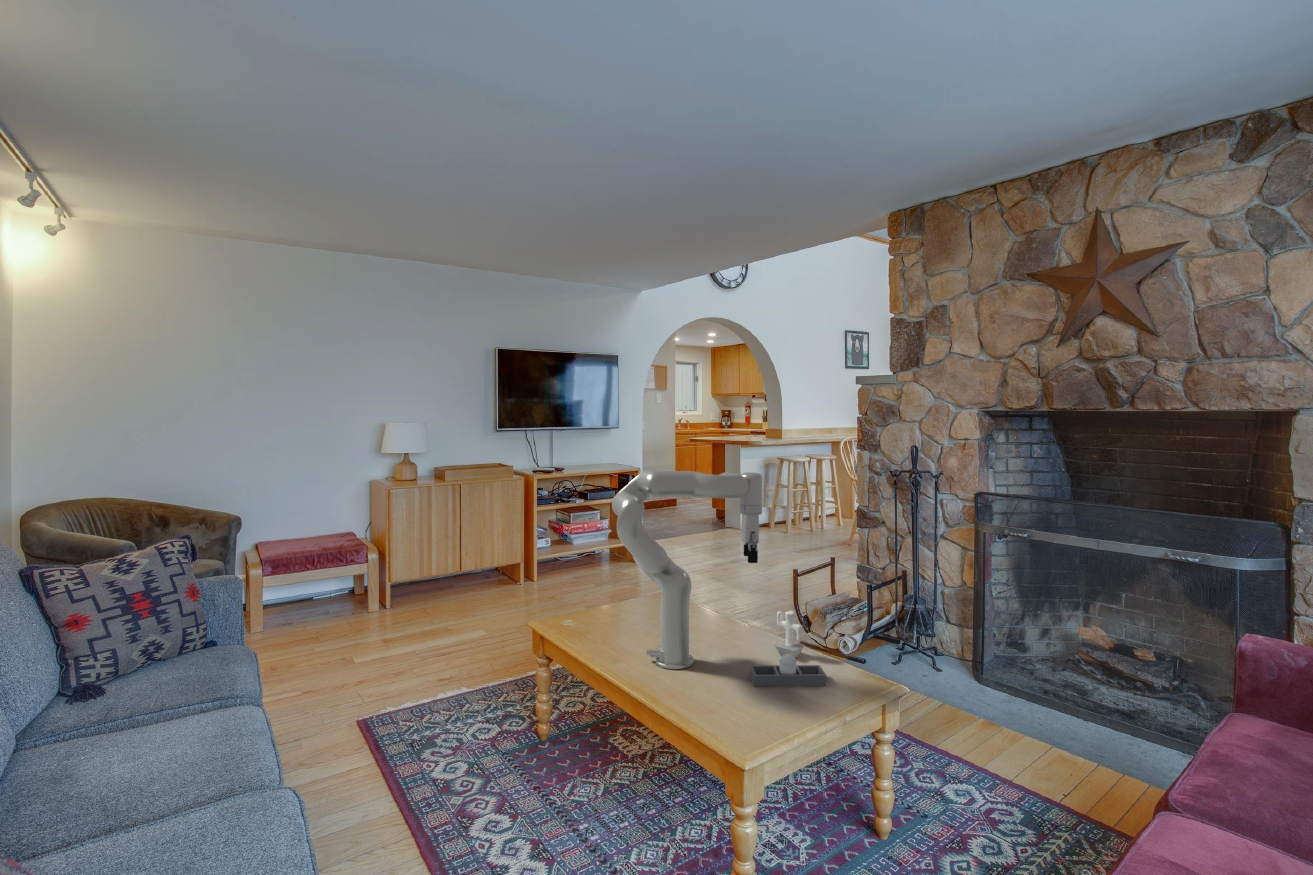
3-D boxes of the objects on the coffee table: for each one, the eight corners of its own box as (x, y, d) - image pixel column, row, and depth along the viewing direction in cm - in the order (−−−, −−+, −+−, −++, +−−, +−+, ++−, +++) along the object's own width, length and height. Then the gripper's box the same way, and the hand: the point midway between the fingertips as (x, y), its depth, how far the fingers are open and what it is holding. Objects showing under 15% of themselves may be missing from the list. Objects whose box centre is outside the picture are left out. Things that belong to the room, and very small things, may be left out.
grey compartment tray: (754, 686, 193) (754, 675, 193) (750, 675, 201) (750, 665, 201) (826, 686, 194) (826, 675, 194) (819, 675, 201) (819, 664, 201)
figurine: (796, 662, 212) (796, 617, 211) (771, 655, 218) (772, 611, 217) (807, 656, 217) (807, 612, 216) (783, 649, 223) (783, 606, 223)
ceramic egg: (781, 682, 195) (781, 657, 194) (777, 675, 200) (778, 651, 199) (797, 682, 195) (798, 657, 194) (793, 675, 200) (794, 651, 199)
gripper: (736, 505, 227) (736, 553, 227) (743, 513, 209) (742, 565, 210) (757, 505, 227) (757, 553, 227) (766, 513, 209) (765, 565, 210)
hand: (750, 559), depth 219 cm, fingers open, 9 cm apart
